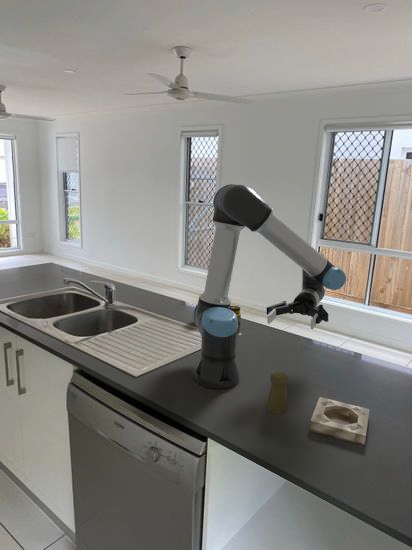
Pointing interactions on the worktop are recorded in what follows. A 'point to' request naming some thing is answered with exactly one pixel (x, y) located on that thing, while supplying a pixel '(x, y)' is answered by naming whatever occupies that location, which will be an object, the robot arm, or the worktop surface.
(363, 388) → the worktop surface
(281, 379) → the olive green peg
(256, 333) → the worktop surface
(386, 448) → the worktop surface
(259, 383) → the worktop surface
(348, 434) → the holder block
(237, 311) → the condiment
